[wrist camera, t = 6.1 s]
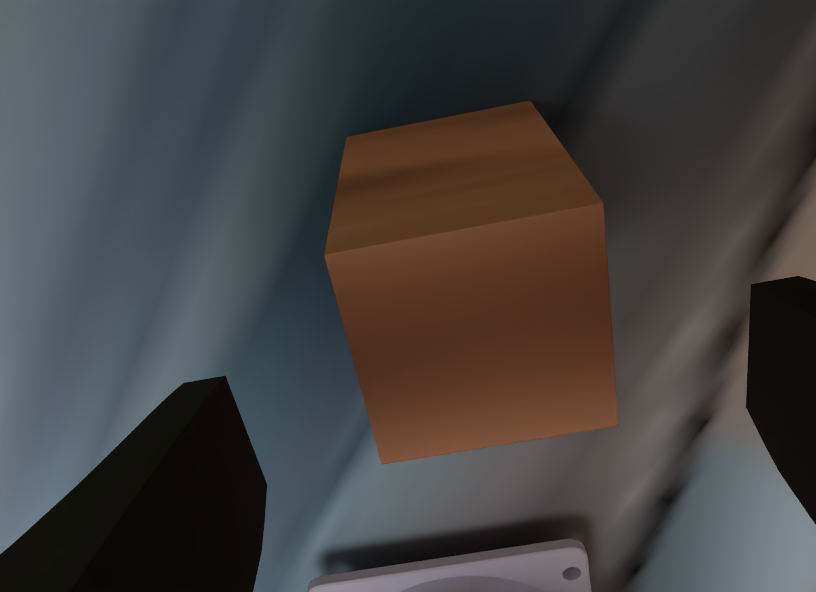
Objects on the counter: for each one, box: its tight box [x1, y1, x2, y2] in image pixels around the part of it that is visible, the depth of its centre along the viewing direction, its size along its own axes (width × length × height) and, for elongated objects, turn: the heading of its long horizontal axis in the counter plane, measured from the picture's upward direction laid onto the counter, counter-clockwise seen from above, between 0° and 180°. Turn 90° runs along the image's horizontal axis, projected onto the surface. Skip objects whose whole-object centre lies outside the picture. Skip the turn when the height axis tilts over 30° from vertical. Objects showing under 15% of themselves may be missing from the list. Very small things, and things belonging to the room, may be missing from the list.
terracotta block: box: [324, 101, 619, 464], centre depth 14 cm, size 4×4×6 cm
